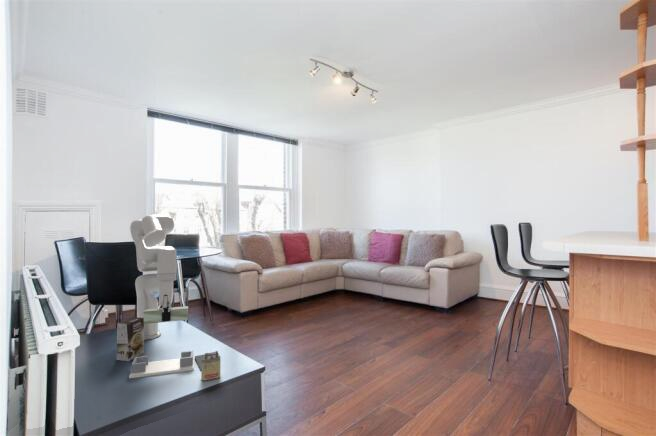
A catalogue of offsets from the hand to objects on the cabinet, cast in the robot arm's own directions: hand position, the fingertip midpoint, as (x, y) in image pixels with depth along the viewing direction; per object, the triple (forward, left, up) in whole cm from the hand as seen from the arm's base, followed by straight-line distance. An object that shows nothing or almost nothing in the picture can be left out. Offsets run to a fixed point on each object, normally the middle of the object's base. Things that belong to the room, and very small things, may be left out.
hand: (166, 319), depth 146 cm
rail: (0, 0, -1) cm, 1 cm away
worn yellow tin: (+22, +18, -18) cm, 33 cm away
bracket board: (+7, 0, -18) cm, 19 cm away
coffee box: (-9, -15, -18) cm, 25 cm away
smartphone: (+7, +16, -19) cm, 25 cm away
